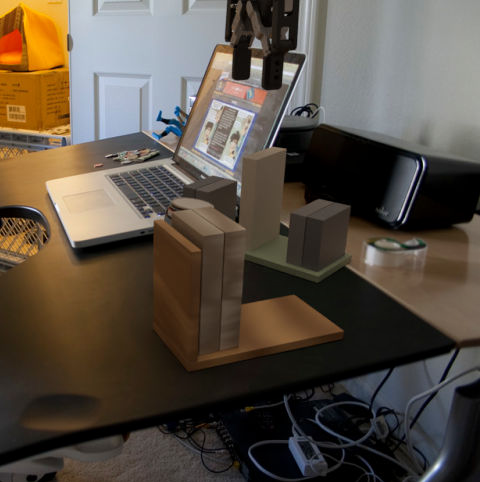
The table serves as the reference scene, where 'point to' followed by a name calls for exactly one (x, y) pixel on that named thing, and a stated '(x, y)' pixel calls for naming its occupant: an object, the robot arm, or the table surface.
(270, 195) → the brown tall flat block
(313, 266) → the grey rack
